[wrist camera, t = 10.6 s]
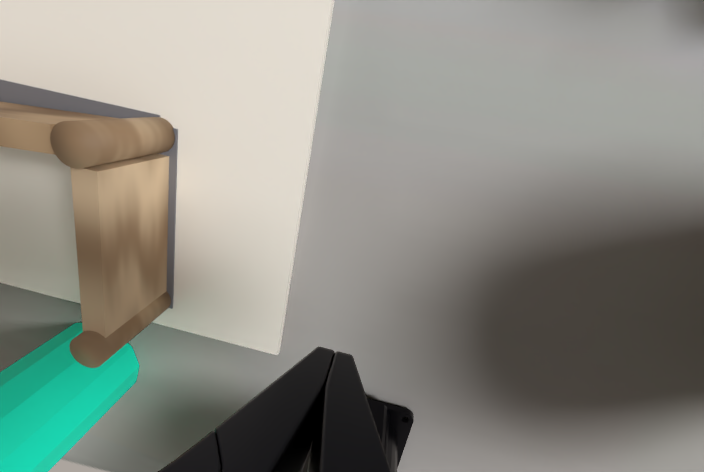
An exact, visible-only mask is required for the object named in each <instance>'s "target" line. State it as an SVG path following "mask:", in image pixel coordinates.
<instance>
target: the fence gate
mask: <svg viewBox="0 0 704 472" xmlns="http://www.w3.org/2000/svg"><path fill="white" fill-rule="evenodd" d="M99 119H120V118H114V117H106V116H99V115H92V114H85V113H78V112H71V111H64V110H57V109H50V108H43V107H36V106H29V105H21V104H14V103H7V102H0V146H2V147H8V148H15V149H22V150H28V151H35V152H41V153H48V154H54V155H55V153H54V151H53V149H52V146H51V142H50V134H51V131H52V129H53V127H54V126H55V125H56V124H57V123H59V122H62V121H78V120H99Z"/></svg>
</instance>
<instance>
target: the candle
mask: <svg viewBox="0 0 704 472" xmlns="http://www.w3.org/2000/svg"><path fill="white" fill-rule="evenodd" d="M82 332H83V327H82V323H74V324H73V325H71V326H70V327H68V328H67V329H65V330H64V331H62V332H61V333H59V334H58V335H56V336H55V337H53V338H52V339H50V340H49V341H47V342H46V343H44V344H42V345H41V346H39V347H38V348H36V349H35V350H33V351H32V352H30V353H29V354H27V355H26V356H24V357H23V358H21V359H20V360H18V361H17V362H15V363H14V364H12V365H11V366H9V367H7V368H6V369H4V370H3V371H1V372H0V472H48V471H49V470H50V469H51V468H52V467H53V466H54V465H55V464H56V463H57V462H58V461H59V460H60V459H61V458H62V457H63V456H64V455H65V454H66V453H67V452H68V451H69V450H70V449H71V448H72V447H73V446H74V445H75V444H76V443H77V442H78V441H79V440H80V439H81V438H82V437H83V436H84V435H85V433H86V432H87V431H88V430H89V429H90V428H91V427H92V426H93V425H94V424H95V423H96V422H97V421H98V420H99V419H100V418H101V417H102V416H103V415H104V414H105V413H106V412H107V411H108V410H109V409H110V408H111V407H112V406H113V405H114V404H115V403H116V402H117V401H118V400H119V399H120V398H121V397H122V396H123V395H124V394H125V393H126V392H127V391H128V390H129V389H130V388H131V387H132V386H133V385H134V384H135V382H136V380H137V376H138V371H139V363H138V361H137V358H136V356H135V353H134V350H133V348H132V346H131V345H130V344H129V343H127V344H125V345H124V346H123V347H122V348H121V349H119V350H118V351H117V352H116V353H115V354H114V355H112V356H111V357H110V358H109V359H108V360H107V361H105V362H104V363H103V364H102V365H101V366H99V367H97V368H89V367H86V366H83V365H82V364H80V363H79V362H77V361H76V360H75V359H74V357H73V356H72V354H71V352H70V342H71V341H72V339H74V338H75V337H77V336H78V335H79V334H81V333H82Z"/></svg>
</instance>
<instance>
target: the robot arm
mask: <svg viewBox="0 0 704 472" xmlns="http://www.w3.org/2000/svg"><path fill="white" fill-rule="evenodd" d="M404 417H408V418H404ZM412 424H413V413H412V412H411V411H410V410H408V409H405V408H402V407H398V406H394V405H390V404H386V403H383V402H379V401H375V400H371V399H368V398H366V395H365V392H364V388H363V385H362V382H361V379H360V376H359V373H358V370H357V367H356V364H355V361H354V358H353V356H352V355H350V354H346V353H342V352H338V351H337V352H336V353H335V354H334V351H333V350H331V349H327V348H323V347H317V348H316V349H314V350H313V351H312V352H311V353H309V354H308V355H307V356H306V357H304V358H303V359H302V360H301V361H299V362H298V363H297V364H296V365H294V366H293V367H292V368H291V369H289V370H288V371H287V372H286V373H284V374H283V375H282V376H281V377H279V378H278V379H277V380H276V381H274V382H273V383H272V384H271V385H269V386H268V387H267V388H266V389H264V390H263V391H262V392H261V393H259V394H258V395H257V396H256V397H254V398H253V399H252V400H251V401H249V402H248V403H247V404H246V405H244V406H243V407H242V408H241V409H239V410H238V411H237V412H236V413H234V414H233V415H232V416H231V417H229V418H228V419H227V420H226V421H224V422H223V423H222V424H221V425H219V426H218V427H217V428H216V429H215V432H214V431H212V432H210V433H209V434H208V435H207V436H205V437H204V438H203V439H202V440H200V441H199V442H198V443H197V444H195V445H194V446H193V447H191V448H190V449H189V450H187V451H186V452H185V453H183V454H182V455H181V456H180V457H178V458H177V459H176V460H174V461H173V462H171V463H170V464H169V465H167V466H166V467H164V468H163V469H161V470H160V471H158V472H397V468H398V465H399V462H400V459H401V456H402V453H403V450H404V447H405V444H406V441H407V438H408V435H409V433H410V430H411V427H412Z"/></svg>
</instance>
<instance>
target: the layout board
mask: <svg viewBox="0 0 704 472" xmlns="http://www.w3.org/2000/svg"><path fill="white" fill-rule="evenodd" d="M334 1H335V0H0V102H7V103H14V104H21V105H29V106H36V107H43V108H50V109H57V110H64V111H71V112H78V113H85V114H92V115H99V116H106V117H114V118H141V117H161V118H164V119H166V120H167V121H168V122H170V124H171V125H172V126H173V131H174V134H175V142H174V145H173V147H172V148H171V149H170V150H169V151H167V152H163V153H157V154H162V155H166V156H169V192H168V242H167V292H168V294H169V296H170V298H171V304H170V306H169V308H168V309H167V310H165V311H164V312H163V313H162V314H161V315H160V316H158V317H157V318H156V319H155V320H154V321H152V323H156V324H160V325H163V326H167V327H171V328H175V329H179V330H182V331H186V332H190V333H194V334H198V335H202V336H205V337H209V338H213V339H217V340H221V341H224V342H228V343H232V344H236V345H240V346H243V347H247V348H251V349H255V350H259V351H262V352H266V353H270V354H274V355H278V353H279V352H280V347H281V341H282V335H283V328H284V322H285V315H286V309H287V303H288V296H289V290H290V283H291V277H292V271H293V264H294V258H295V251H296V245H297V238H298V232H299V226H300V219H301V213H302V206H303V200H304V194H305V187H306V181H307V174H308V168H309V161H310V155H311V149H312V142H313V136H314V129H315V123H316V117H317V110H318V104H319V97H320V91H321V85H322V78H323V72H324V65H325V59H326V52H327V46H328V40H329V33H330V27H331V20H332V14H333V8H334ZM0 283H3V284H7V285H11V286H15V287H19V288H22V289H26V290H30V291H34V292H38V293H42V294H45V295H49V296H53V297H57V298H61V299H64V300H68V301H72V302H76V303H80V304H81V301H80V288H79V275H78V261H77V248H76V235H75V222H74V209H73V195H72V182H71V169H70V167H69V166H67V165H65V164H64V163H62V162H61V161H60V160H59V159H58V157H57V156H56V155H54V154H48V153H41V152H35V151H28V150H22V149H15V148H8V147H2V146H0Z"/></svg>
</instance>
